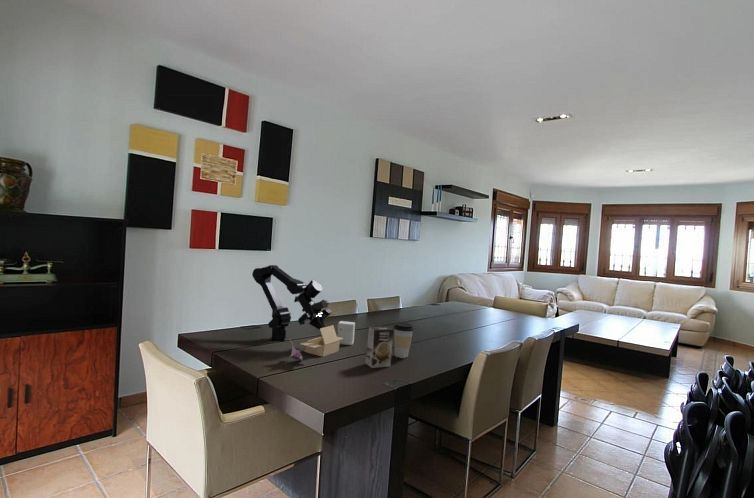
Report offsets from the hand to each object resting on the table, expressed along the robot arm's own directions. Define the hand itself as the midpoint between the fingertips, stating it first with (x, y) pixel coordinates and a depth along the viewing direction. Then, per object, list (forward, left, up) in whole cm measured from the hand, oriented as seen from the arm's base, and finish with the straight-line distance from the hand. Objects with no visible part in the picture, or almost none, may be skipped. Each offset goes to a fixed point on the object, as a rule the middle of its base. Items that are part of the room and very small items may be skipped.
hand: (324, 331), depth 183 cm
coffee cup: (+36, -8, -9) cm, 38 cm away
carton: (0, 0, -9) cm, 9 cm away
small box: (+14, +14, -10) cm, 22 cm away
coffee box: (+21, -20, -9) cm, 30 cm away
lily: (-14, -16, -10) cm, 23 cm away
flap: (+2, -2, -1) cm, 3 cm away
